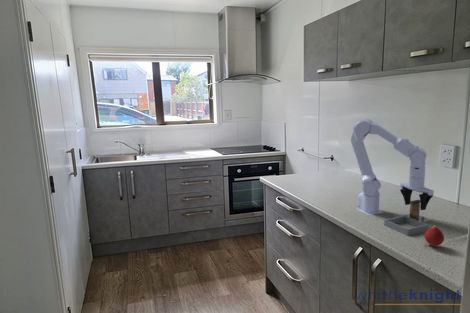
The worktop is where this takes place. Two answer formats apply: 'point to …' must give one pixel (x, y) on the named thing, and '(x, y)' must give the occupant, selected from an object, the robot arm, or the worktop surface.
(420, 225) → the bin
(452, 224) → the worktop surface
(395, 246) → the worktop surface
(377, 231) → the worktop surface
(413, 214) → the brown wooden cylinder
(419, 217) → the plate
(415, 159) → the robot arm
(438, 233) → the onion
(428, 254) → the worktop surface
